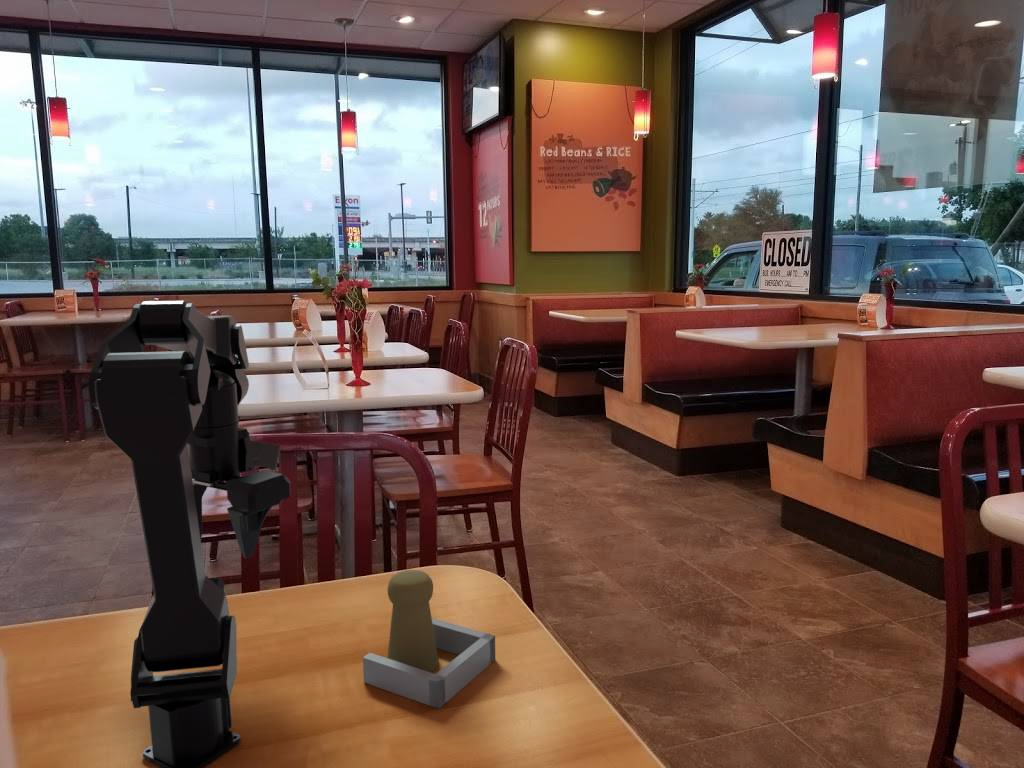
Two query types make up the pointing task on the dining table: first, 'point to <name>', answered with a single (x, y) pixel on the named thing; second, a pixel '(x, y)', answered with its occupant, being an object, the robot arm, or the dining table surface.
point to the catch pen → (444, 684)
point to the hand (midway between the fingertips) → (222, 549)
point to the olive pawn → (412, 620)
